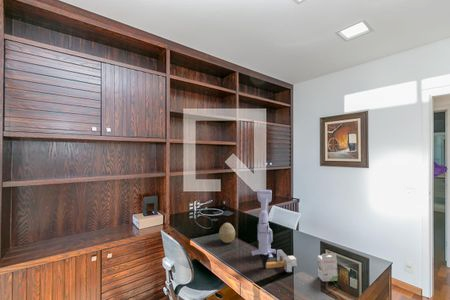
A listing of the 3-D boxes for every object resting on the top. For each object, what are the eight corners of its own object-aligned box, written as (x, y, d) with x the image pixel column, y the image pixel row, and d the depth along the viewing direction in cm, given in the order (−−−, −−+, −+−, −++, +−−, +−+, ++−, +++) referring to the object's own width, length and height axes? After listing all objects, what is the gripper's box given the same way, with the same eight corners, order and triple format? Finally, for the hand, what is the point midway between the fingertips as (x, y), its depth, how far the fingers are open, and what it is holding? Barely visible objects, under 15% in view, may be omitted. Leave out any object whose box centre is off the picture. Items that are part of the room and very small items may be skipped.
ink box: (332, 275, 117) (332, 249, 118) (337, 281, 112) (337, 253, 113) (317, 276, 117) (317, 249, 117) (322, 281, 112) (321, 253, 112)
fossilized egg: (225, 247, 156) (224, 226, 156) (216, 241, 167) (216, 222, 167) (238, 242, 163) (238, 223, 163) (229, 237, 174) (229, 219, 174)
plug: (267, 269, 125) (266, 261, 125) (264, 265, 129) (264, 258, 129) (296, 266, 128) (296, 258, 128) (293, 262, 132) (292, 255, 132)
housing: (277, 260, 136) (276, 249, 136) (281, 259, 136) (281, 249, 136) (286, 272, 121) (286, 260, 122) (291, 271, 122) (291, 260, 122)
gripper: (253, 247, 122) (254, 270, 122) (277, 245, 124) (278, 268, 124) (250, 242, 129) (251, 264, 129) (273, 240, 131) (273, 262, 131)
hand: (264, 266), depth 127 cm, fingers closed
